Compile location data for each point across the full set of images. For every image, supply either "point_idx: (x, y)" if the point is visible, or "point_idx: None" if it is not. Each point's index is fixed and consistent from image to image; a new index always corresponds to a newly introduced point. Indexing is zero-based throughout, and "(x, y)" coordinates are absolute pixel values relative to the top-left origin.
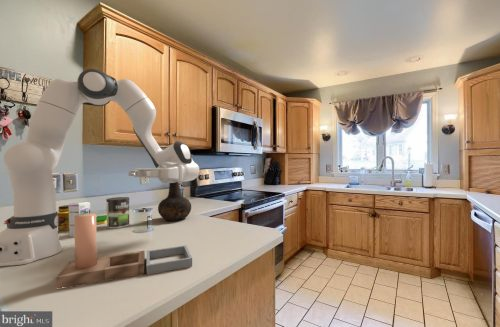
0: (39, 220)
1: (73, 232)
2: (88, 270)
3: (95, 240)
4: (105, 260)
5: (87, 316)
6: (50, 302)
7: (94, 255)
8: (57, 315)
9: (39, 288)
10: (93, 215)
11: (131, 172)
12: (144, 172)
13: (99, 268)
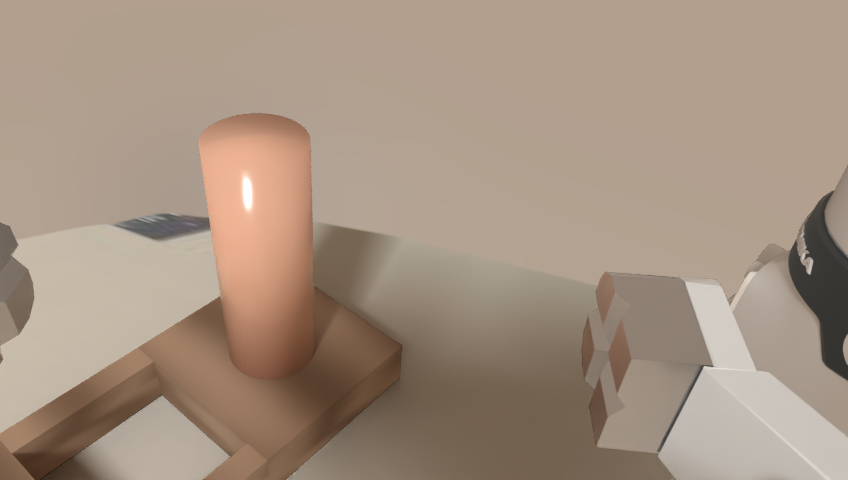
0: (805, 249)
1: None
2: (208, 322)
3: (220, 275)
4: (229, 406)
5: (22, 254)
6: (211, 256)
7: (224, 322)
8: (120, 236)
9: (347, 281)
10: (199, 148)
11: (597, 299)
12: (9, 232)
13: (174, 346)
